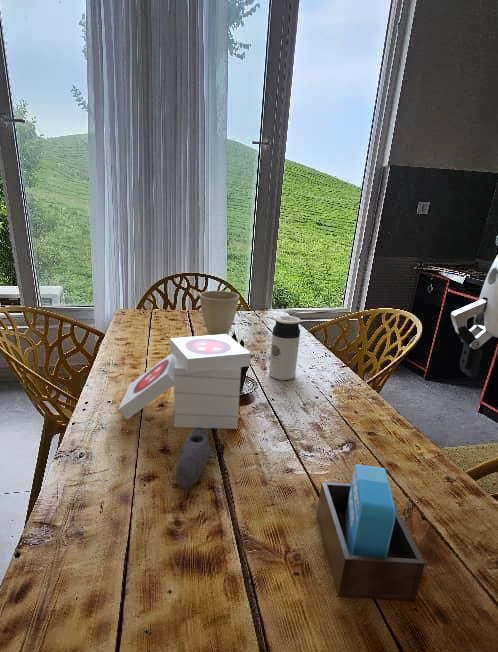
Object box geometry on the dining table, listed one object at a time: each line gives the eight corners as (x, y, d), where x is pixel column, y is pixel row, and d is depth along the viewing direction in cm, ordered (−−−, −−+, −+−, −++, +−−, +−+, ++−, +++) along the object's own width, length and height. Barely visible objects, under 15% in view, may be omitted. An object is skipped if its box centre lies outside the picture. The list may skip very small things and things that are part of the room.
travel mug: (287, 369, 141) (293, 314, 134) (299, 379, 134) (306, 321, 127) (264, 371, 138) (269, 315, 132) (275, 381, 131) (281, 323, 125)
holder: (377, 517, 77) (384, 485, 75) (414, 601, 61) (425, 563, 59) (316, 514, 77) (321, 481, 75) (338, 596, 62) (345, 559, 59)
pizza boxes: (131, 394, 119) (129, 330, 113) (243, 398, 120) (247, 334, 113) (116, 429, 102) (112, 355, 95) (247, 434, 102) (252, 361, 95)
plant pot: (197, 329, 178) (198, 290, 172) (233, 330, 179) (236, 290, 173) (199, 341, 164) (201, 299, 158) (239, 341, 166) (242, 299, 160)
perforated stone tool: (194, 501, 79) (194, 468, 77) (166, 496, 80) (165, 463, 78) (213, 457, 93) (215, 427, 90) (189, 453, 94) (190, 424, 91)
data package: (344, 520, 75) (355, 459, 70) (371, 524, 74) (384, 464, 70) (348, 575, 64) (361, 508, 60) (381, 581, 63) (397, 513, 59)
